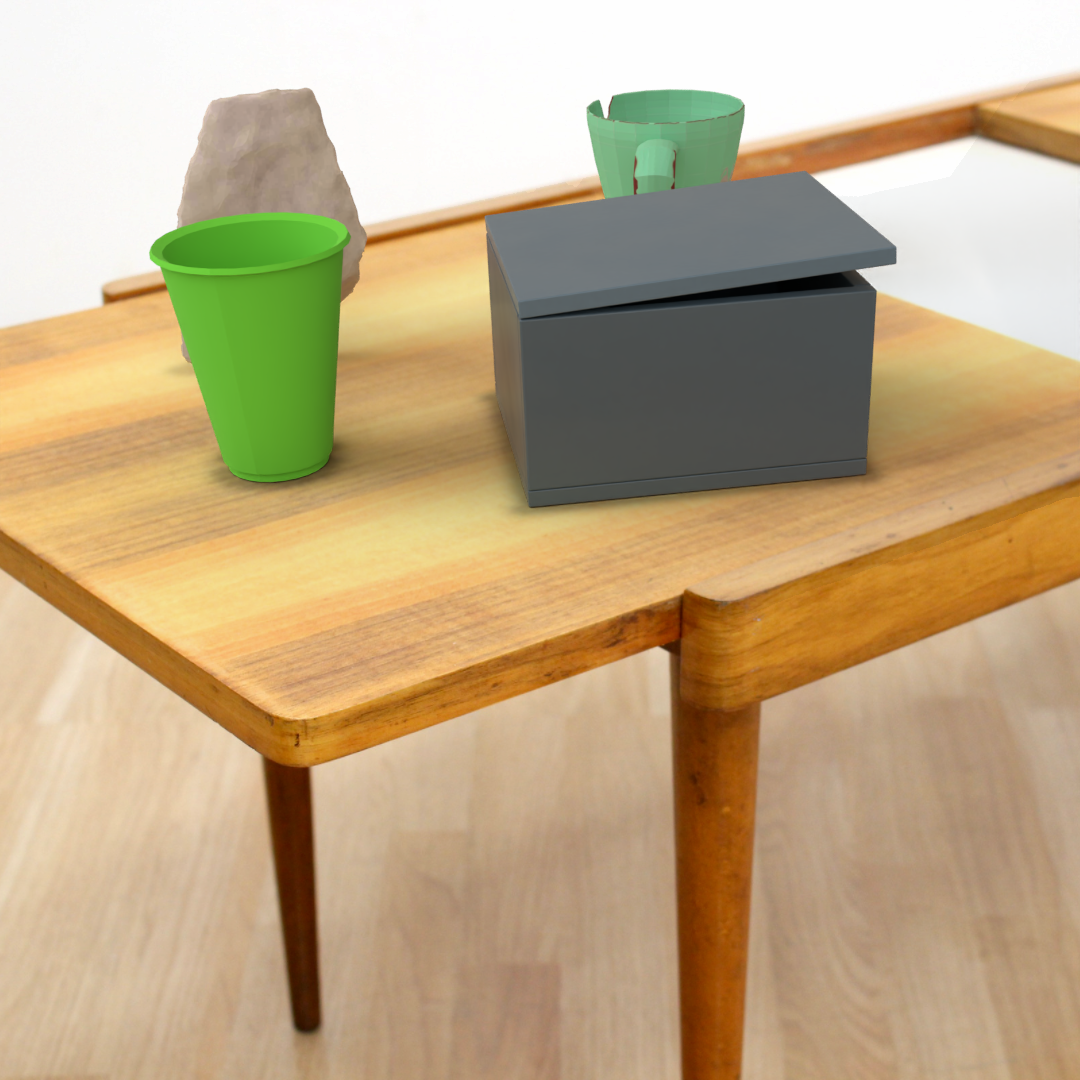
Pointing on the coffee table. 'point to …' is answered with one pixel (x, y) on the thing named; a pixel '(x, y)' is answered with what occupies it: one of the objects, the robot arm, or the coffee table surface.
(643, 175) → the mug
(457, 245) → the coffee table surface
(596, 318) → the chest
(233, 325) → the cup
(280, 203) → the stone
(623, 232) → the lid
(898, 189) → the coffee table surface
